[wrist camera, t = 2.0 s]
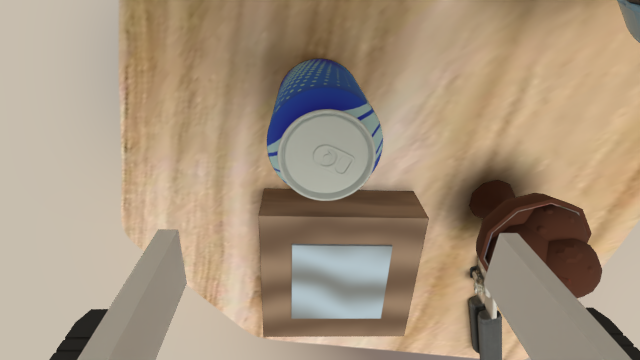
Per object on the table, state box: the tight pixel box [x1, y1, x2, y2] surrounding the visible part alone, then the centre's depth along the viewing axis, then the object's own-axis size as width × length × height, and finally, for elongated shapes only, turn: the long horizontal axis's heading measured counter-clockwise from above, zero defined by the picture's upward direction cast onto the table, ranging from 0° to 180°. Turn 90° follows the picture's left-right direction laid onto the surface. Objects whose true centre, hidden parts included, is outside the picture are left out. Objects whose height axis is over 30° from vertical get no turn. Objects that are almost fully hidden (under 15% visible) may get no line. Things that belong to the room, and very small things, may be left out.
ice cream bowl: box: [469, 180, 602, 298], centre depth 38 cm, size 11×11×15 cm
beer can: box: [267, 59, 383, 201], centre depth 31 cm, size 8×8×16 cm
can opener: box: [469, 257, 502, 360], centre depth 51 cm, size 19×6×5 cm, turn 9°
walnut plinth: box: [259, 189, 429, 337], centre depth 45 cm, size 18×18×6 cm
